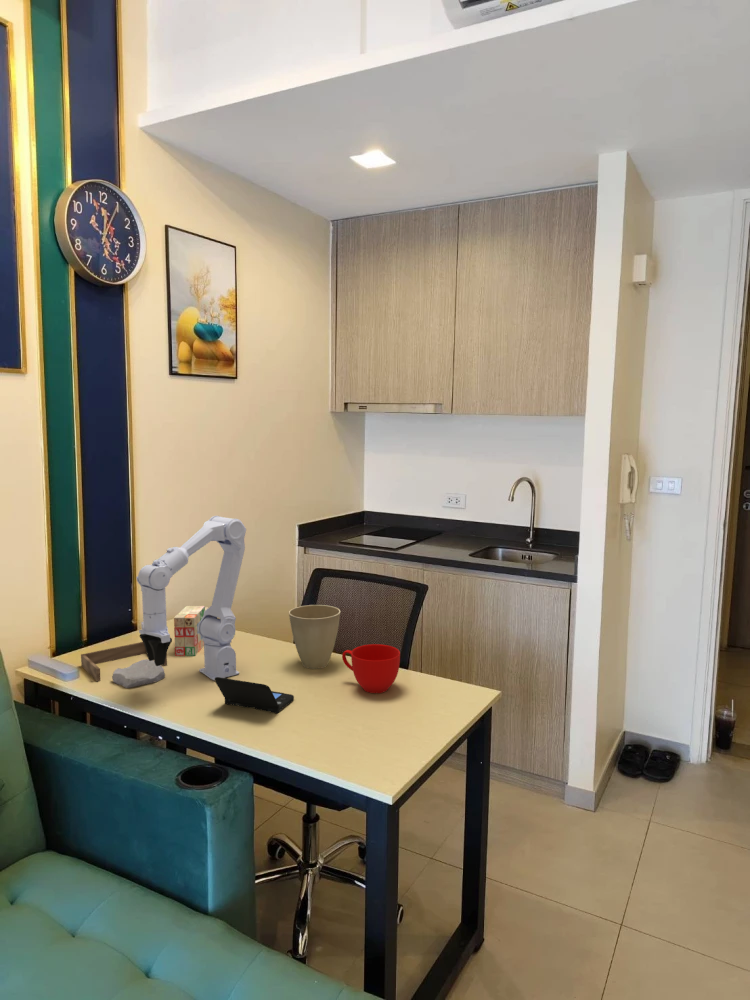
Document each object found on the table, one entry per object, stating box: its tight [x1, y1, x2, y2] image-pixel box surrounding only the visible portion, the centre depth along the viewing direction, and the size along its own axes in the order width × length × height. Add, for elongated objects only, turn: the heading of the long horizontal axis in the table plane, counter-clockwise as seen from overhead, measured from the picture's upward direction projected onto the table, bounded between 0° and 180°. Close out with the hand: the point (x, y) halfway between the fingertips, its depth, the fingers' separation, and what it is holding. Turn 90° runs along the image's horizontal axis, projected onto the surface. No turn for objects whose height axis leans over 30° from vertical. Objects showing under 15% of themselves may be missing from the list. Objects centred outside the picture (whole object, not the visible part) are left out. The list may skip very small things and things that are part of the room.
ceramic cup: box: [341, 643, 401, 694], centre depth 183 cm, size 13×17×10 cm
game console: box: [214, 677, 295, 714], centre depth 171 cm, size 16×14×9 cm
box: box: [80, 641, 168, 682], centre depth 198 cm, size 15×20×4 cm
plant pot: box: [288, 604, 341, 670], centre depth 199 cm, size 15×15×16 cm
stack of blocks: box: [173, 605, 210, 657], centre depth 216 cm, size 21×6×12 cm, turn 178°
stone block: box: [111, 658, 166, 689], centre depth 188 cm, size 12×5×10 cm
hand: (156, 662), depth 178 cm, fingers open, 4 cm apart
